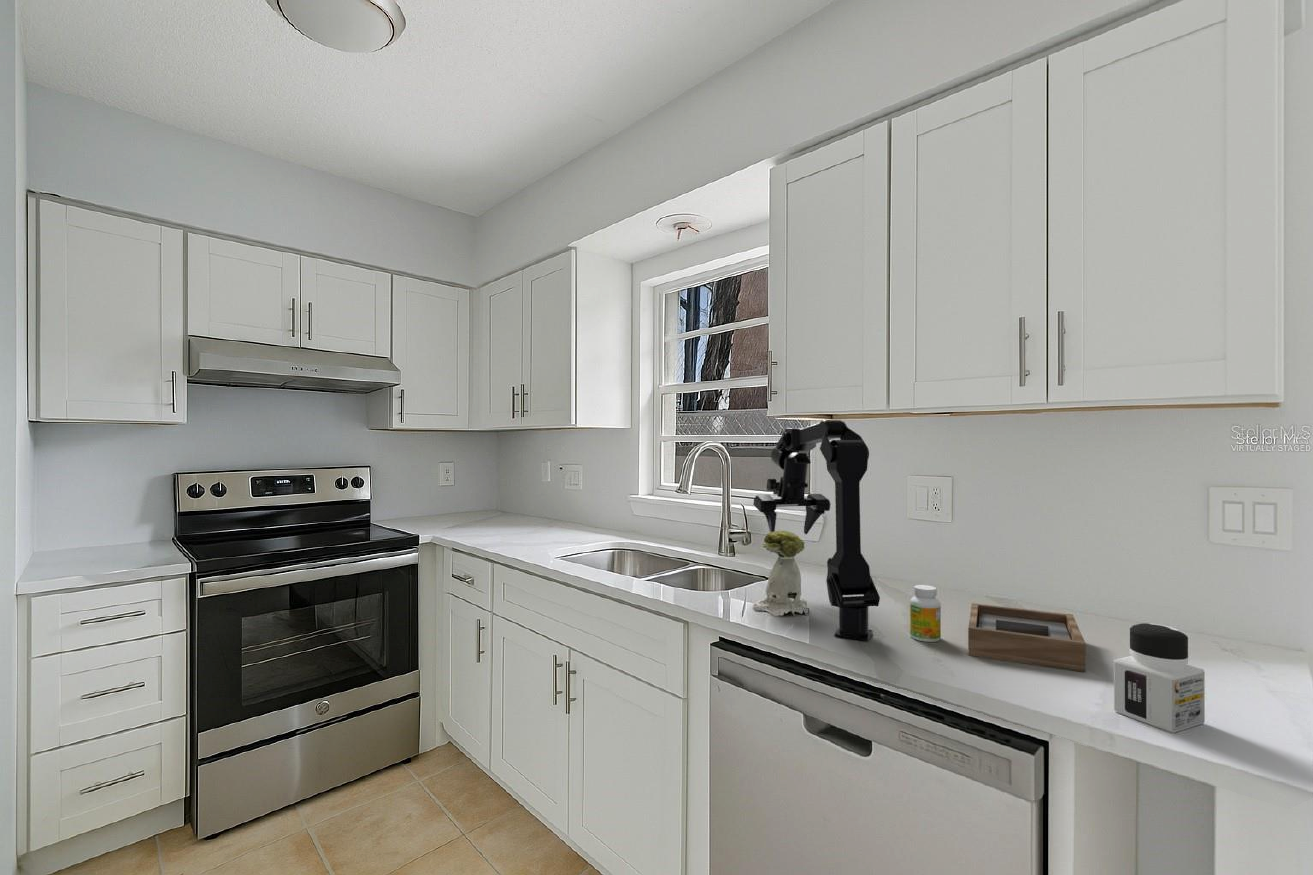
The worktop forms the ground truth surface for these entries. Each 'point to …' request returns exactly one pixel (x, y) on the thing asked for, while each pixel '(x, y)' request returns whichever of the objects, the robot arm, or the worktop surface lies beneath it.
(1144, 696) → the container
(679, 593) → the worktop surface
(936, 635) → the supplement bottle
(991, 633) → the tray
